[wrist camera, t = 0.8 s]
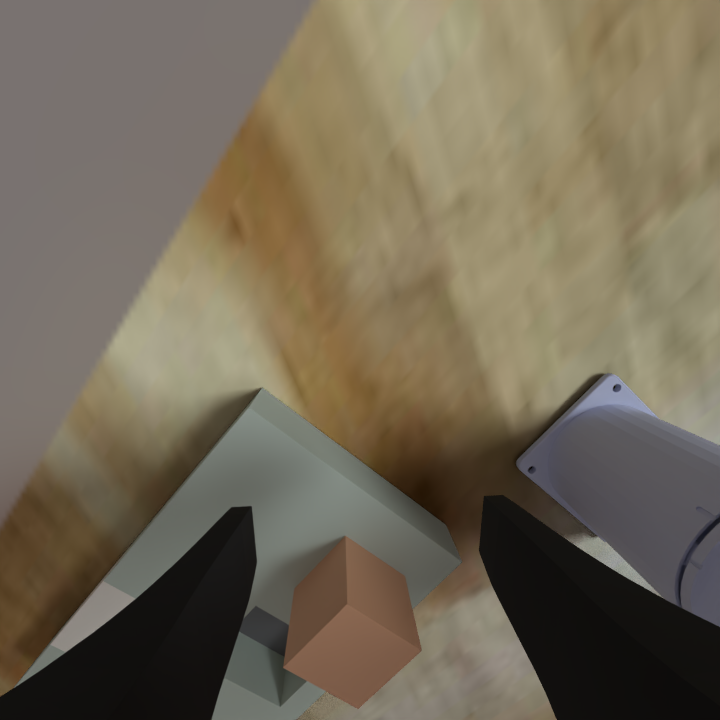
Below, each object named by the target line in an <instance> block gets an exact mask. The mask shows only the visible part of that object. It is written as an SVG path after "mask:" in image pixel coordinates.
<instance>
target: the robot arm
mask: <svg viewBox="0 0 720 720" xmlns="http://www.w3.org/2000/svg"><path fill="white" fill-rule="evenodd" d="M614 385H616V387H615V389H613V387H614ZM516 466H517V467H518V469H519V470H520V471H521V472H523V473H524V474H525V475H526V476H527V477H529V478H530V479H531V480H532V481H533V482H534V483H536V484H537V485H538V486H539V487H540V488H542V489H543V490H544V491H545V492H546V493H547V494H549V495H550V496H551V497H552V498H553V499H554V500H556V501H557V502H558V503H559V504H560V505H562V506H563V507H564V508H565V509H566V510H567V511H569V512H570V513H571V514H572V515H573V516H575V517H576V518H577V519H578V520H579V521H580V522H582V523H583V524H584V525H585V526H586V527H588V528H589V529H590V530H591V531H592V532H593V533H595V534H596V535H597V536H598V537H599V538H601V539H602V540H603V541H605V542H607V543H608V544H609V545H610V546H611V547H612V548H613V549H614V550H615V551H616V552H617V553H618V554H619V555H620V556H621V557H622V558H623V559H624V560H625V561H626V562H627V563H628V564H629V565H630V566H631V567H632V568H633V569H634V570H635V571H637V572H638V573H639V574H640V575H641V576H642V577H643V578H644V579H645V580H646V581H647V582H648V583H649V584H650V585H651V586H652V587H653V588H654V589H655V590H656V591H657V592H658V593H659V594H660V595H661V596H662V597H663V598H664V599H663V598H661V597H660V596H658V595H656V594H654V593H652V592H651V591H649V590H647V589H645V588H644V587H642V586H640V585H638V584H636V583H635V582H633V581H631V580H629V579H628V578H626V577H624V576H622V575H621V574H619V573H617V572H616V571H614V570H612V569H611V568H609V567H608V566H606V565H604V564H603V563H601V562H600V561H598V560H597V559H595V558H593V557H592V556H590V555H589V554H587V553H586V552H584V551H583V550H581V549H580V548H578V547H577V546H575V545H574V544H572V543H571V542H569V541H568V540H566V539H565V538H563V537H562V536H560V535H559V534H558V533H556V532H555V531H553V530H552V529H550V528H549V527H548V526H546V525H545V524H543V523H542V522H541V521H539V520H538V519H536V518H535V517H534V516H532V515H531V514H529V513H528V512H527V511H525V510H524V509H522V508H521V507H520V506H518V505H517V504H515V503H514V502H513V501H511V500H510V499H508V498H507V497H505V496H503V495H496V496H484V501H483V512H482V523H481V534H480V546H479V552H480V555H481V558H482V560H483V563H484V566H485V569H486V571H487V574H488V576H489V579H490V582H491V584H492V586H493V589H494V591H495V593H496V595H497V597H498V599H499V601H500V603H501V605H502V607H503V609H504V611H505V613H506V615H507V616H508V618H509V620H510V622H511V624H512V626H513V628H514V630H515V632H516V634H517V636H518V638H519V640H520V642H521V644H522V646H523V648H524V650H525V652H526V654H527V656H528V658H529V660H530V661H531V663H532V665H533V667H534V669H535V671H536V673H537V675H538V678H539V680H540V682H541V684H542V686H543V688H544V690H545V692H546V695H547V697H548V699H549V702H550V704H551V707H552V709H553V711H554V714H555V716H556V719H557V720H720V445H717V444H715V443H713V442H711V441H708V440H706V439H704V438H702V437H699V436H697V435H695V434H692V433H690V432H688V431H686V430H683V429H681V428H679V427H677V426H674V425H672V424H670V423H667V422H665V421H663V420H661V419H659V418H658V417H657V416H656V415H655V414H654V413H653V412H652V411H651V410H650V409H649V408H648V407H647V406H646V405H645V404H644V403H643V402H642V401H641V400H640V399H639V398H638V397H637V396H636V395H635V394H634V393H633V392H632V391H631V390H630V388H629V387H628V386H627V385H626V384H625V383H624V382H623V381H622V380H621V379H620V378H619V377H618V376H616V375H614V374H611V373H607V374H605V375H603V376H602V377H601V378H600V379H599V380H598V381H597V382H596V383H595V384H594V385H593V386H592V387H591V388H590V389H589V390H588V391H587V392H586V393H585V394H584V395H583V396H582V397H580V398H579V399H578V400H577V401H576V402H575V403H574V404H573V405H572V406H571V407H570V408H569V409H568V410H567V411H566V412H565V413H564V414H563V415H562V416H561V417H560V418H559V419H558V420H557V421H556V422H555V423H554V424H553V425H552V426H551V427H550V428H549V429H548V430H547V431H546V432H545V433H544V434H543V435H542V436H541V437H540V438H539V439H538V440H537V441H535V442H534V443H533V444H532V445H531V446H530V447H529V448H528V449H527V450H526V451H525V452H524V453H523V454H522V455H521V456H520V457H519V458H518V460H517V461H516ZM531 466H532V469H530V470H528V469H529V467H531ZM256 566H257V555H256V544H255V534H254V524H253V514H252V506H242V507H231V508H230V509H229V510H228V511H227V512H226V513H225V514H224V515H223V516H222V517H221V518H220V519H219V520H218V521H217V522H216V523H215V524H214V525H213V526H212V527H211V528H210V529H209V530H208V531H207V532H206V533H205V534H204V535H203V536H202V537H201V538H200V539H199V540H198V541H197V542H196V543H195V544H194V545H193V546H192V547H191V548H190V549H189V550H188V551H187V552H186V553H185V554H184V555H183V556H182V557H181V558H180V559H179V560H178V561H177V562H176V563H175V564H174V565H173V566H172V567H171V568H170V569H168V570H167V571H166V572H165V573H164V574H163V575H162V576H161V577H160V578H159V579H157V580H156V581H155V582H154V583H153V584H152V585H151V586H150V587H149V588H148V589H146V590H145V591H144V592H143V593H142V594H141V595H139V596H138V597H137V598H136V599H135V600H134V601H132V602H131V603H130V604H129V605H128V606H126V607H125V608H124V609H123V610H121V611H120V612H119V613H118V614H116V615H115V616H114V617H112V618H111V619H110V620H109V621H107V622H106V623H105V624H104V625H102V626H101V627H100V628H98V629H97V630H96V631H95V632H93V633H92V634H90V635H89V636H88V637H86V638H85V639H83V640H82V641H81V642H79V643H78V644H77V645H75V646H74V647H72V648H71V649H70V650H68V651H67V652H65V653H64V654H63V655H61V656H60V657H58V658H57V659H56V660H54V661H53V662H52V663H50V664H49V665H47V666H46V667H45V668H43V669H42V670H40V671H39V672H37V673H36V674H34V675H33V676H31V677H30V678H28V679H27V680H25V681H24V682H22V683H21V684H19V685H18V686H16V687H15V688H13V689H12V690H10V691H9V692H7V693H6V694H4V695H2V696H1V697H0V720H212V716H213V713H214V709H215V706H216V702H217V699H218V695H219V692H220V689H221V686H222V683H223V680H224V677H225V674H226V671H227V668H228V665H229V661H230V658H231V655H232V652H233V649H234V646H235V643H236V640H237V637H238V634H239V631H240V628H241V625H242V621H243V618H244V615H245V612H246V609H247V606H248V602H249V599H250V595H251V590H252V586H253V581H254V576H255V571H256Z"/></svg>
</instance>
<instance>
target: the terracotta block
mask: <svg viewBox="0 0 720 720" xmlns="http://www.w3.org/2000/svg"><path fill="white" fill-rule="evenodd" d="M421 651H422V650H421V645H420V641H419V636H418V632H417V627H416V623H415V618H414V614H413V609H412V605H411V600H410V596H409V592H408V587H407V583H406V578H405V576H404V575H403V574H401V573H400V572H398V571H397V570H395V569H394V568H392V567H391V566H389V565H388V564H387V563H385V562H384V561H382V560H381V559H379V558H378V557H376V556H375V555H373V554H372V553H370V552H369V551H367V550H366V549H364V548H363V547H362V546H360V545H359V544H357V543H356V542H354V541H353V540H351V539H350V538H348V537H347V536H345V537H344V538H343V539H342V540H341V541H340V542H339V543H338V544H337V545H336V546H335V547H334V548H333V549H332V550H331V551H330V552H329V553H328V554H327V555H326V556H325V557H324V558H323V559H322V560H321V562H320V563H319V564H318V565H317V566H316V567H315V568H314V569H313V570H312V571H311V572H310V573H309V574H308V575H307V576H306V577H305V578H304V579H303V580H302V581H301V582H300V583H299V584H298V585H297V586H296V587H295V588H294V594H293V601H292V608H291V615H290V623H289V630H288V637H287V644H286V651H285V658H284V665H283V668H284V669H286V670H288V671H290V672H292V673H294V674H295V675H297V676H299V677H301V678H303V679H304V680H306V681H308V682H310V683H312V684H314V685H315V686H317V687H319V688H321V689H323V690H325V691H326V692H328V693H330V694H332V695H334V696H335V697H337V698H339V699H341V700H343V701H345V702H346V703H348V704H350V705H352V706H354V707H355V708H357V709H359V708H360V707H361V706H362V705H363V704H364V703H365V702H366V701H367V700H368V699H369V698H371V697H372V696H373V695H374V694H375V693H376V692H377V691H378V690H379V689H380V688H381V687H383V686H384V685H385V684H386V683H387V682H388V681H389V680H390V679H391V678H392V677H393V676H395V675H396V674H397V673H398V672H399V671H400V670H401V669H402V668H403V667H404V666H405V665H407V664H408V663H409V662H410V661H411V660H412V659H413V658H414V657H415V656H416V655H417V654H419V653H420V652H421Z"/></svg>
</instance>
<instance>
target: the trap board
mask: <svg viewBox="0 0 720 720" xmlns="http://www.w3.org/2000/svg"><path fill="white" fill-rule="evenodd" d="M242 506H252V514H253V524H254V534H255V544H256V555H257V566H256V571H255V576H254V581H253V586H252V590H251V595H250V599H249V602H248V606H247V609H246V612H245V615H244V618H243V621H242V625H241V628H240V631H239V634H238V637H237V640H236V643H235V646H234V649H233V652H232V655H231V658H230V661H229V665H228V668H227V671H226V674H225V677H224V680H223V683H222V686H221V689H220V692H219V695H218V699H217V702H216V706H215V709H214V713H213V716H212V720H296V719H297V718H298V717H299V716H300V715H302V714H303V713H304V712H305V711H306V710H307V709H308V708H309V707H310V706H311V705H312V704H313V703H314V702H315V701H316V700H317V699H318V698H319V697H321V696H322V695H323V694H324V693H325V692H326V691H325V690H323V689H321V688H319V687H317V686H315V685H314V684H312V683H310V682H308V681H306V680H304V679H303V678H301V677H299V676H297V675H295V674H294V673H292V672H290V671H288V670H286V669H284V668H283V665H284V658H285V651H286V644H287V637H288V630H289V623H290V615H291V608H292V601H293V594H294V588H295V587H296V586H297V585H298V584H299V583H300V582H301V581H302V580H303V579H304V578H305V577H306V576H307V575H308V574H309V573H310V572H311V571H312V570H313V569H314V568H315V567H316V566H317V565H318V564H319V563H320V562H321V560H322V559H323V558H324V557H325V556H326V555H327V554H328V553H329V552H330V551H331V550H332V549H333V548H334V547H335V546H336V545H337V544H338V543H339V542H340V541H341V540H342V539H343V538H344V537H345V536H347V537H348V538H350V539H351V540H353V541H354V542H356V543H357V544H359V545H360V546H362V547H363V548H364V549H366V550H367V551H369V552H370V553H372V554H373V555H375V556H376V557H378V558H379V559H381V560H382V561H384V562H385V563H387V564H388V565H389V566H391V567H392V568H394V569H395V570H397V571H398V572H400V573H401V574H403V575H404V576H405V578H406V583H407V587H408V592H409V596H410V600H411V605H412V609H413V608H414V607H415V606H416V605H418V604H419V603H420V602H421V601H422V600H423V599H424V598H425V597H426V596H427V595H428V594H429V593H430V592H431V591H432V590H433V589H434V588H435V587H436V586H438V585H439V584H440V583H441V582H442V581H443V580H444V579H445V578H446V577H447V576H448V575H449V574H450V573H451V572H452V571H453V570H454V569H455V568H457V567H458V566H459V565H460V564H461V563H462V560H461V558H460V556H459V553H458V551H457V549H456V547H455V544H454V542H453V540H452V537H451V535H450V533H449V530H448V528H447V526H446V525H445V524H444V523H443V522H441V521H440V520H439V519H437V518H436V517H435V516H433V515H432V514H431V513H429V512H428V511H427V510H425V509H424V508H423V507H421V506H420V505H419V504H417V503H416V502H415V501H413V500H412V499H411V498H409V497H408V496H407V495H405V494H404V493H403V492H401V491H400V490H399V489H397V488H396V487H395V486H393V485H392V484H391V483H389V482H388V481H387V480H385V479H384V478H383V477H381V476H380V475H379V474H377V473H376V472H374V471H373V470H372V469H370V468H369V467H368V466H366V465H365V464H364V463H362V462H361V461H360V460H358V459H357V458H356V457H354V456H353V455H352V454H350V453H349V452H348V451H346V450H345V449H344V448H342V447H341V446H340V445H338V444H337V443H336V442H334V441H333V440H332V439H330V438H329V437H328V436H326V435H325V434H324V433H322V432H321V431H320V430H318V429H317V428H316V427H314V426H313V425H312V424H310V423H309V422H308V421H306V420H305V419H304V418H302V417H301V416H300V415H298V414H297V413H295V412H294V411H293V410H291V409H290V408H289V407H287V406H286V405H285V404H283V403H282V402H281V401H279V400H278V399H277V398H275V397H274V396H273V395H271V394H270V393H269V392H267V391H266V390H265V389H263V388H262V389H261V390H260V391H259V392H258V393H257V395H256V396H255V397H254V398H253V399H252V401H251V402H250V403H249V404H248V405H247V407H246V408H245V409H244V410H243V411H242V413H241V414H240V415H239V416H238V417H237V419H236V420H235V421H234V422H233V423H232V425H231V426H230V427H229V428H228V429H227V431H226V432H225V433H224V434H223V435H222V437H221V438H220V439H219V440H218V441H217V443H216V444H215V445H214V446H213V447H212V448H211V450H210V451H209V452H208V453H207V454H206V456H205V457H204V458H203V459H202V460H201V462H200V463H199V464H198V465H197V466H196V468H195V469H194V470H193V471H192V472H191V474H190V475H189V476H188V477H187V478H186V480H185V481H184V482H183V483H182V484H181V486H180V487H179V488H178V489H177V490H176V492H175V493H174V494H173V495H172V496H171V498H170V499H169V500H168V501H167V502H166V504H165V505H164V506H163V507H162V508H161V510H160V511H159V512H158V513H157V514H156V516H155V517H154V518H153V519H152V520H151V521H150V523H149V524H148V525H147V526H146V527H145V529H144V530H143V531H142V532H141V533H140V535H139V536H138V537H137V538H136V539H135V541H134V542H133V543H132V544H131V545H130V547H129V548H128V549H127V550H126V551H125V553H124V554H123V555H122V556H121V557H120V559H119V560H118V561H117V562H116V563H115V565H114V566H113V567H112V568H111V569H110V571H109V572H108V573H107V574H106V575H105V577H104V578H103V579H102V580H101V581H100V583H99V584H98V585H97V586H96V587H95V589H94V590H93V591H92V592H91V593H90V594H89V596H88V597H87V598H86V599H85V600H84V602H83V603H82V604H81V605H80V606H79V608H78V609H77V610H76V611H75V612H74V614H73V615H72V616H71V617H70V618H69V620H68V621H67V622H66V623H65V624H64V626H63V627H62V628H61V629H60V630H59V632H58V633H57V634H56V635H55V636H54V638H53V639H52V640H51V641H50V643H49V644H48V645H47V646H46V648H45V649H44V650H43V651H42V653H41V654H40V655H39V656H38V658H37V659H36V660H35V661H34V663H33V664H32V665H31V667H30V668H29V669H28V670H27V672H26V673H25V674H24V675H23V677H22V678H21V679H20V680H19V682H18V683H17V684H16V686H18V685H19V684H21V683H22V682H24V681H25V680H27V679H28V678H30V677H31V676H33V675H34V674H36V673H37V672H39V671H40V670H42V669H43V668H45V667H46V666H47V665H49V664H50V663H52V662H53V661H54V660H56V659H57V658H58V657H60V656H61V655H63V654H64V653H65V652H67V651H68V650H70V649H71V648H72V647H74V646H75V645H77V644H78V643H79V642H81V641H82V640H83V639H85V638H86V637H88V636H89V635H90V634H92V633H93V632H95V631H96V630H97V629H98V628H100V627H101V626H102V625H104V624H105V623H106V622H107V621H109V620H110V619H111V618H112V617H114V616H115V615H116V614H118V613H119V612H120V611H121V610H123V609H124V608H125V607H126V606H128V605H129V604H130V603H131V602H132V601H134V600H135V599H136V598H137V597H138V596H139V595H141V594H142V593H143V592H144V591H145V590H146V589H148V588H149V587H150V586H151V585H152V584H153V583H154V582H155V581H156V580H157V579H159V578H160V577H161V576H162V575H163V574H164V573H165V572H166V571H167V570H168V569H170V568H171V567H172V566H173V565H174V564H175V563H176V562H177V561H178V560H179V559H180V558H181V557H182V556H183V555H184V554H185V553H186V552H187V551H188V550H189V549H190V548H191V547H192V546H193V545H194V544H195V543H196V542H197V541H198V540H199V539H200V538H201V537H202V536H203V535H204V534H205V533H206V532H207V531H208V530H209V529H210V528H211V527H212V526H213V525H214V524H215V523H216V522H217V521H218V520H219V519H220V518H221V517H222V516H223V515H224V514H225V513H226V512H227V511H228V510H229V509H230V508H231V507H242ZM16 686H15V687H16ZM15 687H14V688H15Z"/></svg>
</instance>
